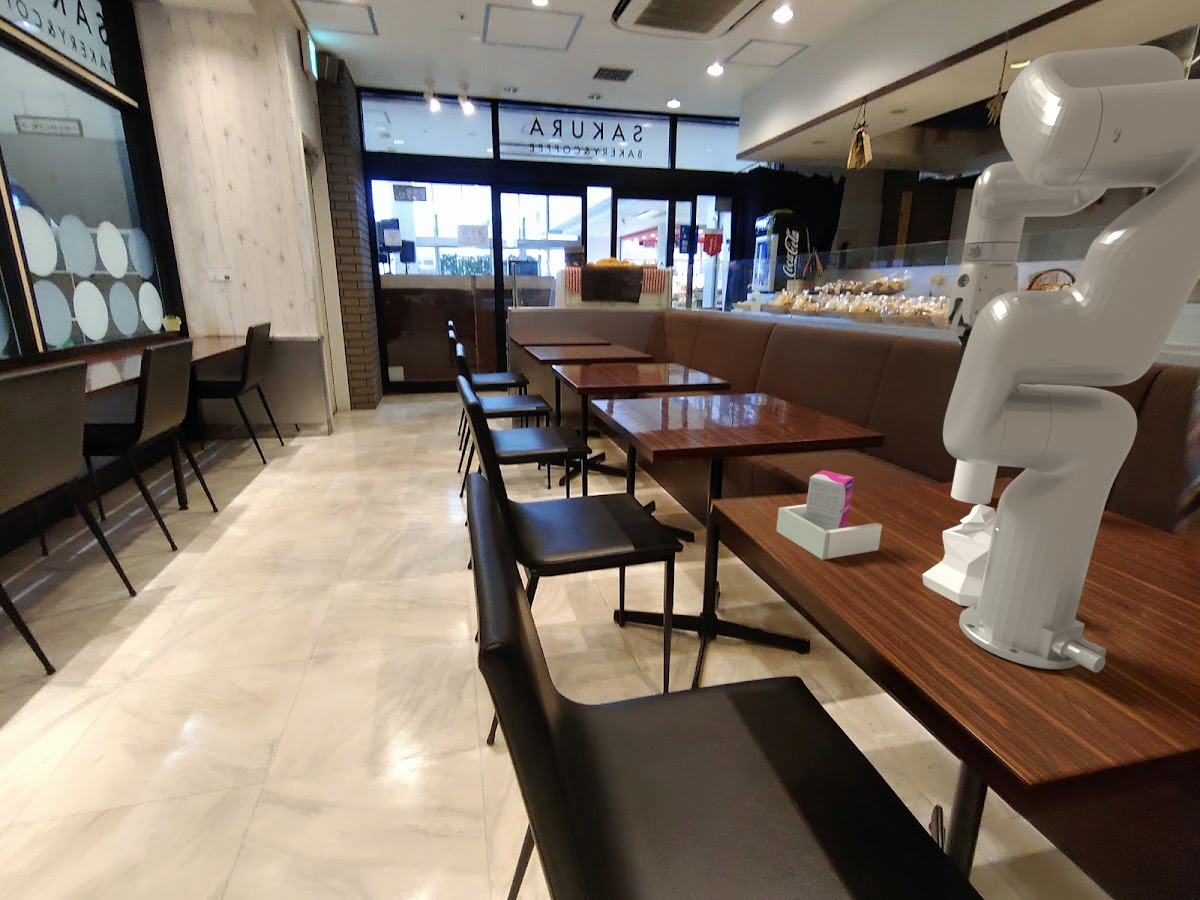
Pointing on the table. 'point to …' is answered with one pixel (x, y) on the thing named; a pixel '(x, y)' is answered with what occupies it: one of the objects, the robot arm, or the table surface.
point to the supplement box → (829, 500)
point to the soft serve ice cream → (963, 558)
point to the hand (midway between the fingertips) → (969, 369)
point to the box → (826, 535)
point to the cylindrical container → (973, 482)
